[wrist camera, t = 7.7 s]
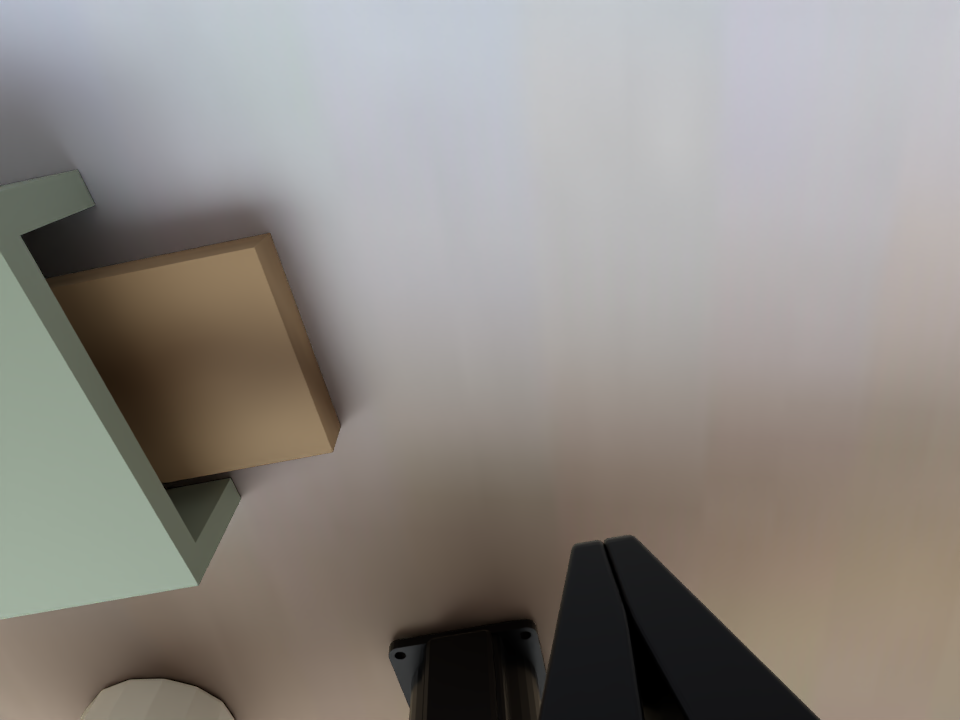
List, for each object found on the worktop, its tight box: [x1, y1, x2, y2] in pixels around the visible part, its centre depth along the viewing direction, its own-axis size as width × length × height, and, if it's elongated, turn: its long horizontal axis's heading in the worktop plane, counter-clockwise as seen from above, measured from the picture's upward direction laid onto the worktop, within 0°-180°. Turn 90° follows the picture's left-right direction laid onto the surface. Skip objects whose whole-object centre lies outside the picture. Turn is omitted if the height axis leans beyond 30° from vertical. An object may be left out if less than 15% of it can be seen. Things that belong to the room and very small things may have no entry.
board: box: [45, 233, 341, 483], centre depth 18 cm, size 7×10×2 cm
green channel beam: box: [0, 169, 241, 619], centre depth 17 cm, size 12×7×4 cm, turn 11°
